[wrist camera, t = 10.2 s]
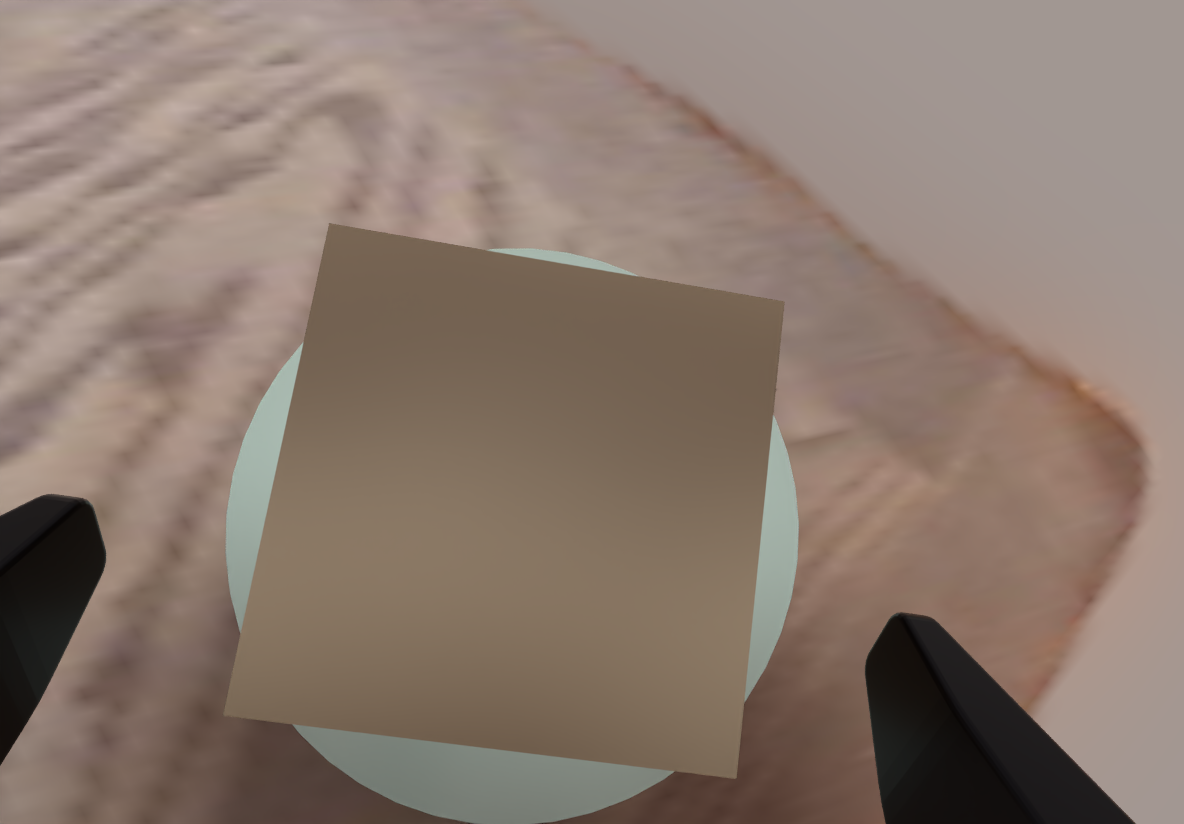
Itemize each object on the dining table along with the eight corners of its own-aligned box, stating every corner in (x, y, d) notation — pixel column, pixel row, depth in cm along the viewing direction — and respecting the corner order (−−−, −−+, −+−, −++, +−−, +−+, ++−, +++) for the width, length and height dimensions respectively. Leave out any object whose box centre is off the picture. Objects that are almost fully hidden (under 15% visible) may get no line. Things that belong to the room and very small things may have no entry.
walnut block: (606, 635, 18) (736, 778, 8) (399, 607, 18) (222, 716, 7) (632, 434, 19) (784, 301, 8) (436, 403, 19) (330, 223, 8)
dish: (665, 897, 19) (675, 922, 17) (137, 671, 18) (111, 680, 17) (852, 389, 21) (872, 381, 20) (395, 183, 21) (387, 162, 20)
